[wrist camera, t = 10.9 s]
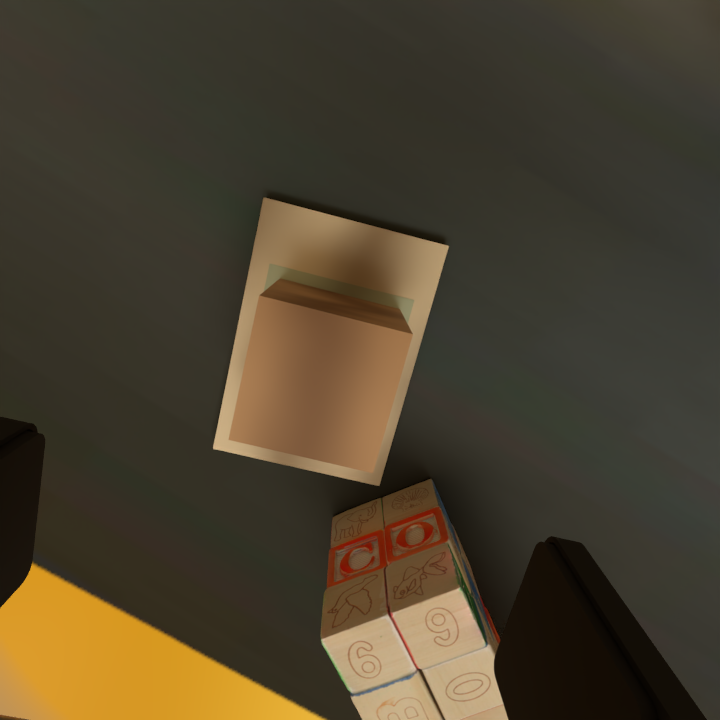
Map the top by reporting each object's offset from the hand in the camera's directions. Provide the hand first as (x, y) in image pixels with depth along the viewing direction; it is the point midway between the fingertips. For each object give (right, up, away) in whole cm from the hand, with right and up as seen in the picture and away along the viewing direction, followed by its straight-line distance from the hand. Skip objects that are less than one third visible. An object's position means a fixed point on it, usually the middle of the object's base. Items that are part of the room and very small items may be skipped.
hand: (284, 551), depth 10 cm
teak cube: (0, +4, +17) cm, 17 cm away
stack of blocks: (+7, -13, +23) cm, 27 cm away
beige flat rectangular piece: (0, +4, +18) cm, 18 cm away
